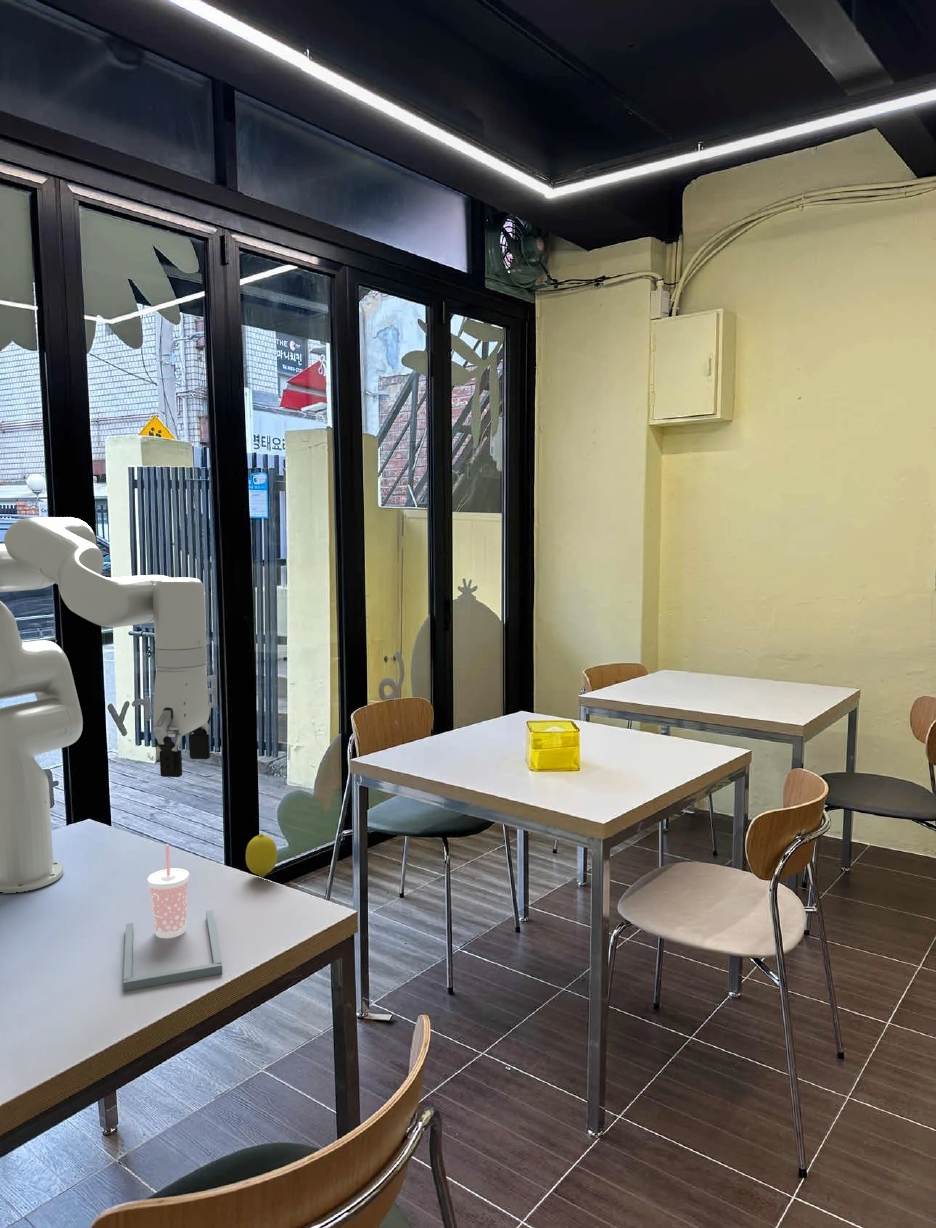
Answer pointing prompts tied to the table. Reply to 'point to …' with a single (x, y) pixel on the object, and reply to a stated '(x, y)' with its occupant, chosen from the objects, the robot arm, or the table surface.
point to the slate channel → (173, 975)
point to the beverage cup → (169, 900)
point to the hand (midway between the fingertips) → (186, 767)
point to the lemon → (261, 855)
